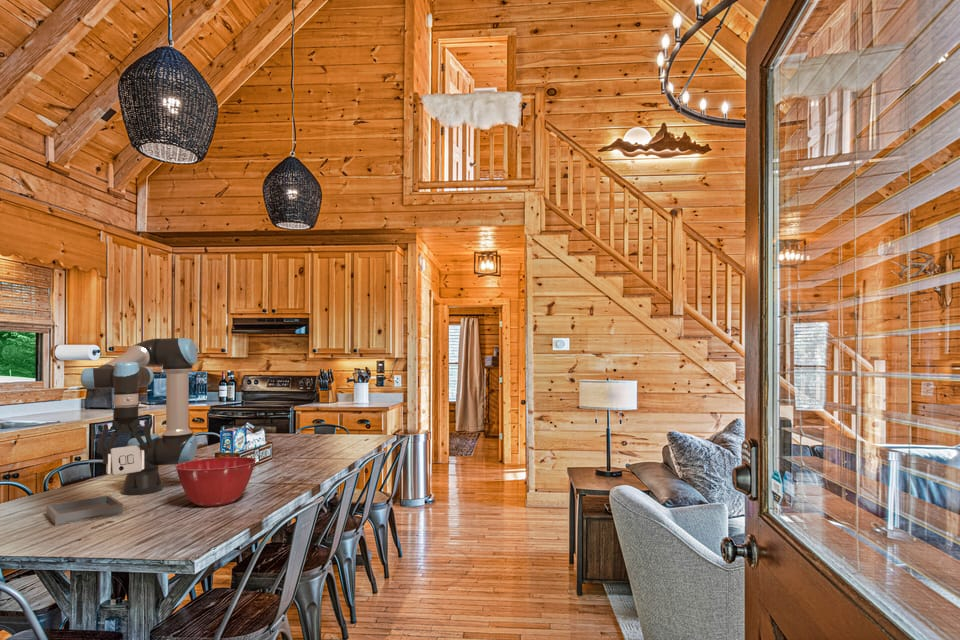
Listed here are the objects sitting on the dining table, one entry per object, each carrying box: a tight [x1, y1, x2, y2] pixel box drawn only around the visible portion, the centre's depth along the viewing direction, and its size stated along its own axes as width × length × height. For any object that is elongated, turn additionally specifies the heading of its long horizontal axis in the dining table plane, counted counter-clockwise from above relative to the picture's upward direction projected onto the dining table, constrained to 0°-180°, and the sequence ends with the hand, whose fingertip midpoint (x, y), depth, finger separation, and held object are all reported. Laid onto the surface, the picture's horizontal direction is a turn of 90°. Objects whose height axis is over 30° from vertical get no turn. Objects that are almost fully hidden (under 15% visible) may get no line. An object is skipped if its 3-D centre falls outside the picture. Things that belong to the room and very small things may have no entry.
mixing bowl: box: [175, 456, 257, 508], centre depth 228 cm, size 28×28×16 cm
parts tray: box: [46, 494, 124, 526], centre depth 214 cm, size 20×20×4 cm
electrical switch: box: [109, 445, 142, 476], centre depth 204 cm, size 9×5×9 cm, turn 141°
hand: (125, 471), depth 204 cm, fingers closed on electrical switch, 9 cm apart
